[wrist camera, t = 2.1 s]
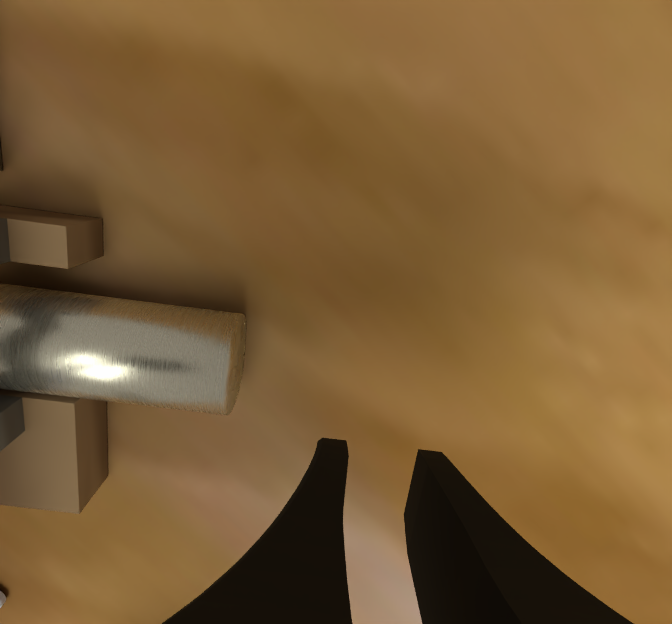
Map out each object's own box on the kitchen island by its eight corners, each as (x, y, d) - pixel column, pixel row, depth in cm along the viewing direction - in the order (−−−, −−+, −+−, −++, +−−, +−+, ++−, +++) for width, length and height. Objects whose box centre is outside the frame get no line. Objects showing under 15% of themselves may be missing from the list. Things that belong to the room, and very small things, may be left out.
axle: (247, 295, 18) (222, 355, 15) (245, 370, 21) (223, 437, 17) (-53, 257, 18) (-147, 310, 15) (-22, 337, 20) (-99, 400, 17)
